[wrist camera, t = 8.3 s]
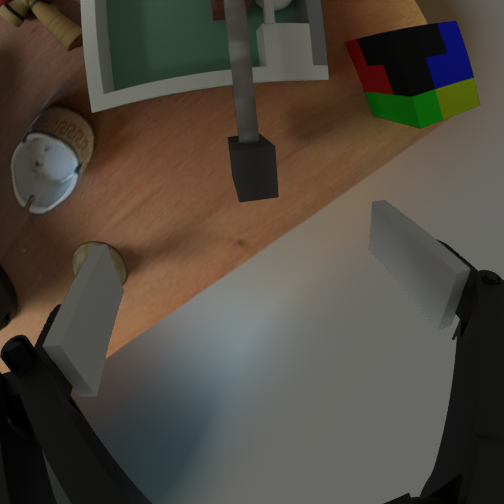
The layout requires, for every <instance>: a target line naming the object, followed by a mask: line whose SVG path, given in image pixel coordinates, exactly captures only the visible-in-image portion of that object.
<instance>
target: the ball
mask: <svg viewBox="0 0 504 504" xmlns="http://www.w3.org/2000/svg"><path fill="white" fill-rule="evenodd" d="M291 1H292V0H273V8H274V11H277V10H281V9H284V8H286V7H287V6H288V5H289V4H290V3H291ZM255 2H256V3H257V4H258V5H259V6H260V7H262V0H255ZM262 8H263V7H262Z"/></svg>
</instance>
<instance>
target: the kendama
mask: <svg viewBox="0 0 504 504" xmlns="http://www.w3.org/2000/svg"><path fill="white" fill-rule="evenodd" d="M0 6H1V8H0V14H1V16H2V17H3V18H5V19H6V20H7V21H8V22H9V23H11V24H12V25H14V26H16V27H19V26H20V25H21V24H22V23H23V22H24V19H25V15H26V12H27V10H28V9H29V8H30V9H31V10H32V11H33V13H34V14H35V15H36V17H37V18H38V19H39V20H40V22H41V23H42V24H43V25H44V26H45V27H46V28H47V29H48V30H49V31H50V32H51V33H52V34H53V35H54V36H55V37H56V38H57V39H58V40H59V41H60V42H61V44H62V45H63V46H64V47H65V48H66V49H67V50H68V51H70V50H73V49H74V48H76V47H77V46H78V45H79V44H80V43H81V42H82V41H83V37H82V28H81V27H80V26H78V25H77V24H76V23H74V22H73V21H71V20H70V19H69V18H67V17H66V16H64V15H63V14H62V13H60V12H59V11H58V10H56V9H55V8H53V7H51V6H50V5H48V4H46V3H44V2H42V1H40V0H0Z"/></svg>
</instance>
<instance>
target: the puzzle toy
mask: <svg viewBox="0 0 504 504" xmlns="http://www.w3.org/2000/svg"><path fill="white" fill-rule="evenodd" d="M345 45H346V47H347V49H348V52H349V54H350V56H351V59H352V61H353V63H354V66H355V68H356V71H357V73H358V76H359V78H360V81H361V83H362V86H363V89H364V91H365V94H366V97H367V100H368V102H369V105H370V108H371V111H372V114H373V116H374V117H379V118H383V119H387V120H391V121H395V122H398V123H402V124H406V125H409V126H413V127H416V128H420V129H421V128H424V127H426V126H429V125H431V124H434V123H436V122H439V121H441V120H444V119H446V118H449V117H451V116H454V115H456V114H459V113H462V112H464V111H467V110H470V109H472V108H475V107H477V106H480V102H479V97H478V93H477V88H476V84H475V80H474V76H473V72H472V68H471V65H470V61H469V58H468V54H467V51H466V48H465V44H464V41H463V38H462V36H461V33H460V30H459V27H458V24H457V22H456V21H451V22H442V23H435V24H427V25H420V26H414V27H409V28H403V29H398V30H393V31H388V32H384V33H379V34H375V35H371V36H367V37H363V38H359V39H355V40H352V41H348V42H345Z"/></svg>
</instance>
